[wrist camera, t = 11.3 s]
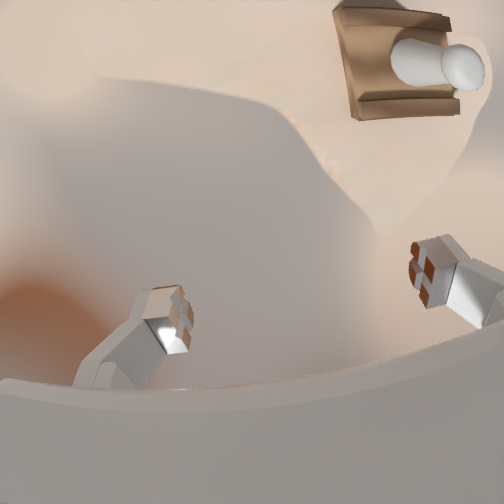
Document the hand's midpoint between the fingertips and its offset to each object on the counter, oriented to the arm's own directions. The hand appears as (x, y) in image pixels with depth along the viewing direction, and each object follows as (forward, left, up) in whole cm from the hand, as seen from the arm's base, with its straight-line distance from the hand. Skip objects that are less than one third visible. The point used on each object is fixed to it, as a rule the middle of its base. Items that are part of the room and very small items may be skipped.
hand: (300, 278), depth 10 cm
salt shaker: (-6, +18, -26) cm, 32 cm away
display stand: (-6, +18, -29) cm, 35 cm away
